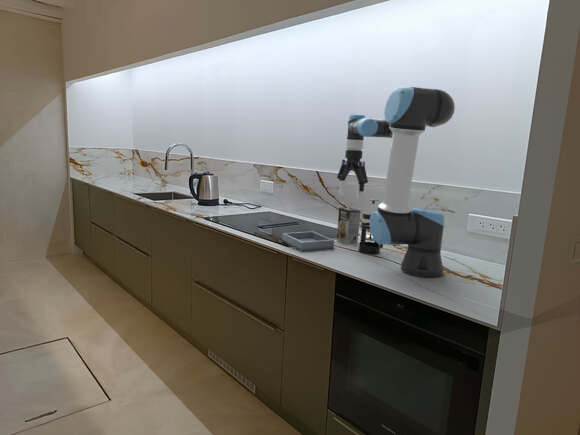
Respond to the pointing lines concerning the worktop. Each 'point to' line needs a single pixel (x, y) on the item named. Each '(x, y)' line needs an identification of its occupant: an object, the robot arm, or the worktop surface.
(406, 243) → the robot arm
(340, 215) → the coffee box
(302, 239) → the bin
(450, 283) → the worktop surface
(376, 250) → the french press
